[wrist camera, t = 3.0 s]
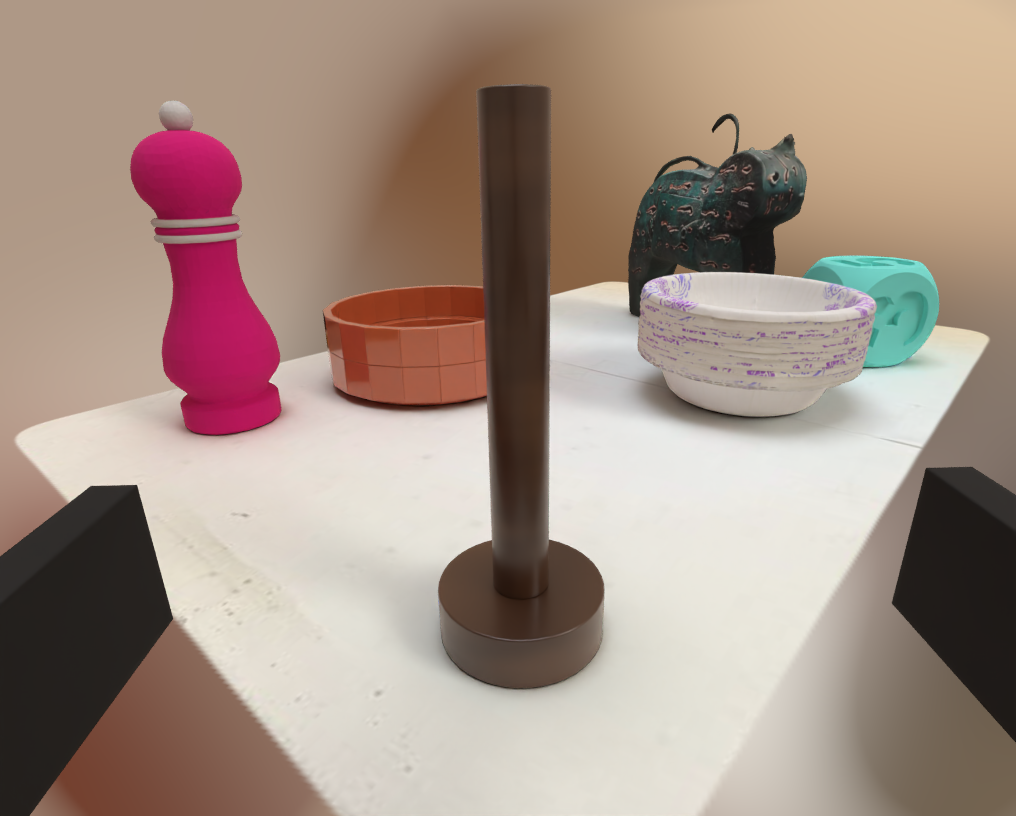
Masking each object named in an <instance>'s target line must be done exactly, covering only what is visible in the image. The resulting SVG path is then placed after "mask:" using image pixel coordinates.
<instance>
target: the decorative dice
mask: <svg viewBox="0 0 1016 816" xmlns="http://www.w3.org/2000/svg"><path fill="white" fill-rule="evenodd" d="M802 278H805V279H812V280H818V281H823V282H828V283H833V284H838V285H842V286H845V287H849V288H852V289H856V290H858V291H861V292H863V293H866V294H867V295H869V296H870V297H871V298H873V300H875V302H876V305H877V308H876V312H875V313H874V315H875V320H874V323H873V326H872V334H871V336H870V340H869V345H868V351H867V354H866V358H865V361H864V364H863V367H887V366H893V365H897V364H899V363H901V362H903V361H904V360H906V359H907V358H909V357H910V356H912V355H913V354H914V353H915V352H916V351H917V350H918V349H919V348H920V347H921V346H922V345H923V344H924V343H925V341H926V340H927V339H928V337H929V336H930V334H931V332H932V330H933V328H934V326H935V323H936V320H937V317H938V311H939V296H938V290H937V286H936V284H935V281H934V279H933V277H932V275H931V273H930V272H929V270H928V269H927V268H926V267H925V265H924V264H923V263H920V262H917V261H913V260H906V259H900V258H891V257H877V256H833V257H826V258H822V259H820V260H819V261H818V262H816V263H815V264H814V265H813V266H812V267H811V268H810V269H809V270H808V271H807V272H806V273H805V275H804V276H803V277H802Z"/></svg>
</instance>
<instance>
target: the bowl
mask: <svg viewBox="0 0 1016 816" xmlns="http://www.w3.org/2000/svg"><path fill="white" fill-rule="evenodd" d="M323 316H324V324H325V332H326V339H327V347H328V355H329V362H330V370H331V377H332V380H333V384H334V386H336V387H337V388H339V389H340V390H342V391H343V392H345V393H347V394H349V395H353V396H357V397H360V398H364V399H368V400H372V401H377V402H382V403H389V404H397V405H440V404H450V403H458V402H463V401H469V400H473V399H478V398H482V397H485V396H487V381H486V352H485V323H484V294H483V287H481V286H458V285H442V286H441V285H440V286H417V287H404V288H394V289H386V290H379V291H372V292H367V293H362V294H358V295H354V296H350V297H346V298H343V299H341V300H338V301H336V302H333V303H331V304H329V305H328V306H327V307H326V308H325V309H324V310H323Z"/></svg>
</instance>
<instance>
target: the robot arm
mask: <svg viewBox="0 0 1016 816" xmlns="http://www.w3.org/2000/svg"><path fill="white" fill-rule="evenodd" d="M892 604H893V605H894V606H895V607H896V609H897V610H898V611H899V612H900V613H901V614H902V615H903V616H904V617H905V619H906V620H907V621H908V622H909V623H910V624H911V625H912V627H913V628H914V629H915V630H916V631H917V632H918V633H919V634H920V635H921V637H922V638H923V639H924V640H925V641H926V642H927V643H928V644H929V646H930V647H931V648H932V649H933V650H934V651H935V652H936V653H937V655H938V656H939V657H940V658H941V659H942V660H943V661H944V662H945V664H946V665H947V666H948V667H949V668H950V669H951V670H952V671H953V673H954V674H955V675H956V676H957V677H958V678H959V679H960V680H961V682H962V683H963V684H964V685H965V686H966V687H967V688H968V689H969V690H970V692H971V693H972V694H973V695H974V696H975V697H976V698H977V700H978V701H980V703H981V704H982V705H983V706H984V707H985V708H986V710H987V711H988V712H989V713H990V714H991V715H992V716H993V717H994V719H995V720H996V721H997V722H998V723H999V724H1000V725H1001V726H1002V727H1003V729H1004V730H1005V731H1006V732H1007V733H1008V734H1009V735H1010V737H1011V738H1012V739H1013V740H1014V741H1015V742H1016V495H1015V494H1013V493H1012V492H1010V491H1009V490H1007V489H1006V488H1004V487H1003V486H1001V485H999V484H998V483H996V482H995V481H993V480H992V479H990V478H988V477H987V476H985V475H984V474H982V473H981V472H979V471H978V470H976V469H974V468H973V467H951V468H950V467H949V468H926V470H925V474H924V478H923V482H922V486H921V490H920V494H919V498H918V502H917V506H916V510H915V514H914V518H913V522H912V526H911V530H910V533H909V537H908V541H907V545H906V549H905V553H904V557H903V561H902V565H901V569H900V573H899V577H898V581H897V585H896V589H895V593H894V597H893V601H892ZM172 620H173V616H172V613H171V609H170V605H169V602H168V598H167V594H166V590H165V587H164V583H163V579H162V576H161V572H160V568H159V565H158V561H157V557H156V553H155V550H154V546H153V542H152V539H151V535H150V531H149V528H148V524H147V520H146V517H145V513H144V509H143V505H142V502H141V498H140V494H139V491H138V487H137V485H119V486H90V487H89V488H88V489H87V490H85V491H84V492H83V493H81V494H80V495H79V496H78V497H76V498H75V499H74V500H72V501H71V502H70V503H69V504H67V505H66V506H65V507H63V508H62V509H61V510H60V511H58V512H57V513H56V514H54V515H53V516H52V517H51V518H49V519H48V520H47V521H45V522H44V523H43V524H42V525H40V526H39V527H38V528H36V529H35V530H34V531H33V532H31V533H30V534H29V535H27V536H26V537H25V538H23V539H22V540H21V541H20V542H18V543H17V544H16V545H14V546H13V547H12V548H11V549H9V550H8V551H7V552H5V553H4V554H3V555H2V556H0V816H30V814H31V813H32V812H33V810H34V809H35V807H36V806H37V805H38V803H39V802H40V801H41V799H42V798H43V796H44V795H45V794H46V792H47V791H48V789H49V788H50V787H51V785H52V784H53V783H54V781H55V780H56V779H57V777H58V776H59V775H60V773H61V772H62V770H63V769H64V768H65V766H66V765H67V763H68V762H69V761H70V759H71V758H72V757H73V755H74V754H75V753H76V751H77V750H78V748H79V747H80V746H81V744H82V743H83V742H84V740H85V739H86V737H87V736H88V735H89V733H90V732H91V731H92V729H93V728H94V727H95V725H96V724H97V722H98V721H99V719H100V718H101V717H102V716H103V714H104V713H105V711H106V710H107V709H108V707H109V706H110V705H111V703H112V702H113V701H114V699H115V698H116V696H117V695H118V694H119V692H120V691H121V690H122V688H123V687H124V685H125V684H126V683H127V681H128V680H129V679H130V677H131V676H132V674H133V673H134V671H135V670H136V669H137V668H138V666H139V665H140V664H141V662H142V661H143V659H144V658H145V657H146V655H147V654H148V653H149V651H150V650H151V648H152V647H153V646H154V644H155V643H156V642H157V640H158V639H159V637H160V636H161V635H162V633H163V632H164V630H165V629H166V628H167V626H168V625H169V624H170V622H171V621H172Z"/></svg>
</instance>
